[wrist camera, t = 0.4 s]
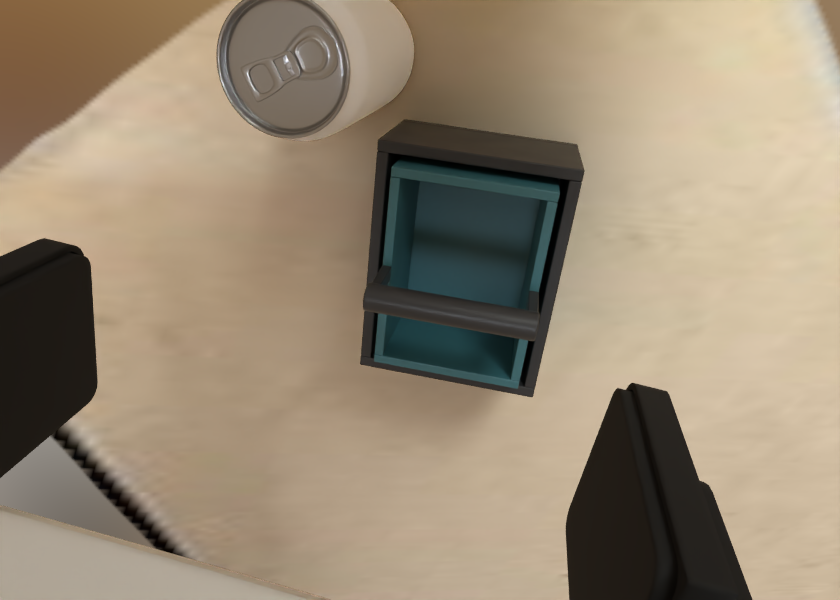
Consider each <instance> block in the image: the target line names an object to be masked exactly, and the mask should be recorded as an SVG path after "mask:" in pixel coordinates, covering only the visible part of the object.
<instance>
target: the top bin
mask: <svg viewBox="0 0 840 600" xmlns="http://www.w3.org/2000/svg"><path fill="white" fill-rule="evenodd" d="M559 195H560V191H559V181H558V178H552V177H545V176H538V175H532V174H525V173H519V172H512V171H505V170H499V169H492V168H486V167H479V166H472V165H466V164H459V163H453V162H446V161H439V160H433V159H426V158H420V157H413V156H406V155H403V156H402V157H401V158H400V159H399V160H398V161H397V162H396V163H395V164H394V165H393V166H392V168H391V178H390V189H389V201H388V212H387V223H386V234H385V245H384V256H383V265H382V267H381V269H380V270H379V272H378V273H377V275H376V277H375V278H374V280H373V281H372V282H370V283H368V285H367V287H366V289H365V293H364V299H363V309H364V310H365V311H368V312H374V313H378V322H377V333H376V344H375V355H374V362H379V363H384V364H390V365H395V366H400V367H405V368H411V369H416V370H421V371H426V372H432V373H437V374H442V375H447V376H453V377H458V378H463V379H468V380H474V381H479V382H484V383H489V384H495V385H500V386H505V387H510V388H516V389H518V386H519V381H520V377H521V372H522V367H523V363H524V358H525V353H526V349H527V344H528V341H534V340H535V338H536V335H537V330H538V325H539V317H540V314H539V312H538V308H539V288H540V283H541V279H542V274H543V270H544V265H545V260H546V256H547V251H548V246H549V242H550V237H551V232H552V228H553V223H554V218H555V214H556V209H557V204H558V200H559Z"/></svg>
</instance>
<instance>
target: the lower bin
mask: <svg viewBox="0 0 840 600" xmlns="http://www.w3.org/2000/svg"><path fill="white" fill-rule="evenodd" d="M377 150H378V152H377V161H376V173H375V186H374V199H373V211H372V224H371V236H370V249H369V261H368V274H367V285H368V283H370V282H372V281H373V280H374V278H375V277H376V275H377V273H378V272H379V270H380V269H381V267H382V265H383V256H384V245H385V234H386V223H387V212H388V201H389V189H390V178H391V168H392V166H393V165H394V164H395V163H396V162H397V161H398V160H399V159H400V158H401V157H402V156H403V155H406V156H413V157H420V158H426V159H433V160H439V161H446V162H453V163H459V164H466V165H472V166H479V167H486V168H492V169H499V170H505V171H512V172H519V173H525V174H532V175H538V176H545V177H552V178H558V181H559V191H560V195H559V200H558V204H557V209H556V214H555V218H554V223H553V228H552V232H551V237H550V242H549V246H548V251H547V256H546V260H545V265H544V270H543V274H542V279H541V283H540V288H539V308H538V312H539V314H540V317H539V325H538V330H537V335H536V338H535V340H534V341H528V344H527V349H526V353H525V358H524V363H523V367H522V372H521V377H520V381H519V386H518V389H516V388H510V387H505V386H500V385H495V384H489V383H484V382H479V381H474V380H468V379H463V378H458V377H453V376H447V375H442V374H437V373H432V372H426V371H421V370H416V369H411V368H405V367H400V366H395V365H390V364H384V363H379V362H374V355H375V344H376V333H377V322H378V313H374V312H368V311H365V312H364V324H363V337H362V350H361V361H360V364H361V365H366V366H371V367H377V368H382V369H387V370H392V371H398V372H403V373H408V374H413V375H418V376H424V377H429V378H434V379H439V380H445V381H450V382H455V383H460V384H465V385H471V386H476V387H481V388H486V389H492V390H497V391H502V392H507V393H512V394H518V395H523V396H528V397H533V394H534V390H535V385H536V381H537V376H538V372H539V368H540V363H541V359H542V354H543V350H544V346H545V341H546V337H547V333H548V328H549V324H550V320H551V315H552V311H553V306H554V302H555V298H556V293H557V289H558V285H559V280H560V276H561V271H562V267H563V263H564V258H565V254H566V250H567V245H568V241H569V236H570V232H571V228H572V223H573V219H574V215H575V210H576V206H577V201H578V197H579V193H580V188H581V184H582V183H581V182H582V180H583V175H584V168H583V164H582V161H581V157H580V153H579V150H578V146H577V144H571V143H564V142H557V141H550V140H543V139H536V138H529V137H522V136H515V135H508V134H501V133H495V132H488V131H481V130H474V129H467V128H460V127H453V126H446V125H439V124H432V123H426V122H419V121H412V120H403V121H402V122H401V123H399V124H398V125H397V126H396V127H394V128H393V129H392V130H390V131H389V132H388V133H386V134H385V135H384V136H383V137H381V138H380V139H379V140H378V148H377Z"/></svg>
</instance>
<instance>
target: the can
mask: <svg viewBox="0 0 840 600" xmlns="http://www.w3.org/2000/svg"><path fill="white" fill-rule="evenodd" d="M413 61H414V42H413V37H412V34H411V31H410V29H409V26H408V24H407V22H406V20H405V19H404V17H403V16H402V14H401V13H400V11H399V10H398V9H397V7H396V6H395V5H394V4H393V3H392V2H390V1H389V0H242V1H241V2H240V3H239V4H238V5H236V6H235V8H234V9H233V10H232V11H231V12H230V14H229V15H228V17H227V18H226V20H225V22H224V24H223V26H222V29H221V31H220V35H219V39H218V44H217V68H218V74H219V78H220V81H221V84H222V87H223V90H224V92H225V94H226V96H227V98H228V100H229V101H230V103H231V104H232V106H233V107H234V109H235V110H236V111H237V112H238V113H239V115H240V116H241V117H242V118H243V119H244V120H246V121H247V122H248V123H249V124H250V125H252V126H253V127H255V128H256V129H258V130H260V131H262V132H264V133H266V134H268V135H271V136H275V137H279V138H285V139H289V140H294V141H314V140H319V139H323V138H326V137H329V136H331V135H333V134H336V133H338V132H340V131H341V130H343V129H345V128H347V127H349V126H350V125H352V124H354V123H356V122H357V121H359V120H361V119H363V118H364V117H366V116H368V115H369V114H371V113H373V112H375V111H376V110H378V109H380V108H381V107H383V106H384V105H386V104H388V103H389V102H390V101H392V100H393V99H394V98H395V97H396V96H397V95H398V94H399V93H400V92H401V91H402V89H403V88H404V86H405V85H406V83H407V81H408V79H409V76H410V74H411V71H412V67H413Z"/></svg>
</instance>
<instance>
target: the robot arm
mask: <svg viewBox="0 0 840 600" xmlns="http://www.w3.org/2000/svg"><path fill="white" fill-rule="evenodd" d="M96 389H97V366H96V348H95V331H94V314H93V296H92V279H91V265H90V262H89V260H88V258H86V257H85V256H84V254H83V252H82V251H81V249H80V248H79V247H77V246H74V245H70V244H66V243H62V242H58V241H54V240H49V239H45V238H44V239H40V240H37V241H35V242H32V243H30V244H28V245H26V246H23V247H21V248H19V249H16V250H14V251H12V252H10V253H7V254H5V255H3V256H0V478H1V477H2V476H3V475H4V474H5V473H7V472H8V471H9V470H10V469H11V468H13V467H14V466H15V465H16V464H17V463H18V462H20V461H21V460H22V459H23V458H24V457H26V456H27V455H28V454H29V453H30V452H31V451H33V450H34V449H35V448H36V447H37V446H39V445H40V444H41V443H42V442H43V441H44V440H46V439H47V438H48V437H49V436H50V435H52V434H53V433H54V432H55V431H56V430H57V429H59V428H60V427H61V426H62V425H63V424H64V423H66V422H67V421H68V420H69V419H70V418H72V417H73V416H74V415H75V414H76V413H77V412H79V411H80V410H81V409H82V408H83V407H85V406H86V405H87V404H88V403H89V402H90V401H91V400H92V398H93V396H94V394H95V392H96ZM566 544H567V562H568V581H569V599H570V600H752V597H751V595H750V592H749V589H748V587H747V584H746V581H745V579H744V576H743V573H742V570H741V568H740V565H739V562H738V560H737V557H736V554H735V552H734V549H733V546H732V543H731V541H730V538H729V535H728V533H727V530H726V527H725V525H724V522H723V519H722V516H721V514H720V511H719V508H718V506H717V503H716V500H715V498H714V495H713V492H712V491H711V489H710V487H709V485H707V484H706V483H704V482H702V481H699V478H698V476H697V473H696V470H695V467H694V464H693V461H692V458H691V456H690V453H689V450H688V447H687V444H686V441H685V439H684V436H683V433H682V430H681V427H680V424H679V421H678V419H677V416H676V413H675V410H674V407H673V404H672V401H671V399H670V396H669V394H668V392H667V391H663V390H659V389H655V388H651V387H647V386H643V385H639V384H635V383H631V384H630V385H629V386H628V388H627V389H626V390H623V389H619V388H617V389H616V390H615V392H614V394H613V396H612V398H611V401H610V403H609V406H608V409H607V411H606V414H605V416H604V419H603V422H602V424H601V427H600V430H599V432H598V435H597V437H596V440H595V443H594V445H593V448H592V450H591V453H590V456H589V458H588V461H587V464H586V466H585V469H584V471H583V474H582V477H581V479H580V482H579V484H578V487H577V490H576V492H575V495H574V497H573V500H572V503H571V505H570V508H569V511H568V515H567V521H566ZM0 600H330V599H327V598H323V597H320V596H316V595H313V594H310V593H306V592H303V591H299V590H296V589H292V588H289V587H286V586H282V585H279V584H275V583H272V582H268V581H265V580H262V579H258V578H255V577H251V576H248V575H244V574H241V573H238V572H234V571H231V570H227V569H224V568H220V567H217V566H213V565H210V564H206V563H203V562H199V561H196V560H192V559H189V558H185V557H182V556H178V555H175V554H171V553H168V552H164V551H161V550H157V549H154V548H150V547H147V546H143V545H140V544H136V543H132V542H129V541H126V540H122V539H119V538H115V537H112V536H108V535H105V534H101V533H98V532H94V531H91V530H87V529H84V528H80V527H76V526H73V525H69V524H66V523H62V522H59V521H55V520H52V519H48V518H45V517H41V516H38V515H34V514H31V513H27V512H23V511H20V510H17V509H13V508H9V507H6V506H2V505H0Z"/></svg>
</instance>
